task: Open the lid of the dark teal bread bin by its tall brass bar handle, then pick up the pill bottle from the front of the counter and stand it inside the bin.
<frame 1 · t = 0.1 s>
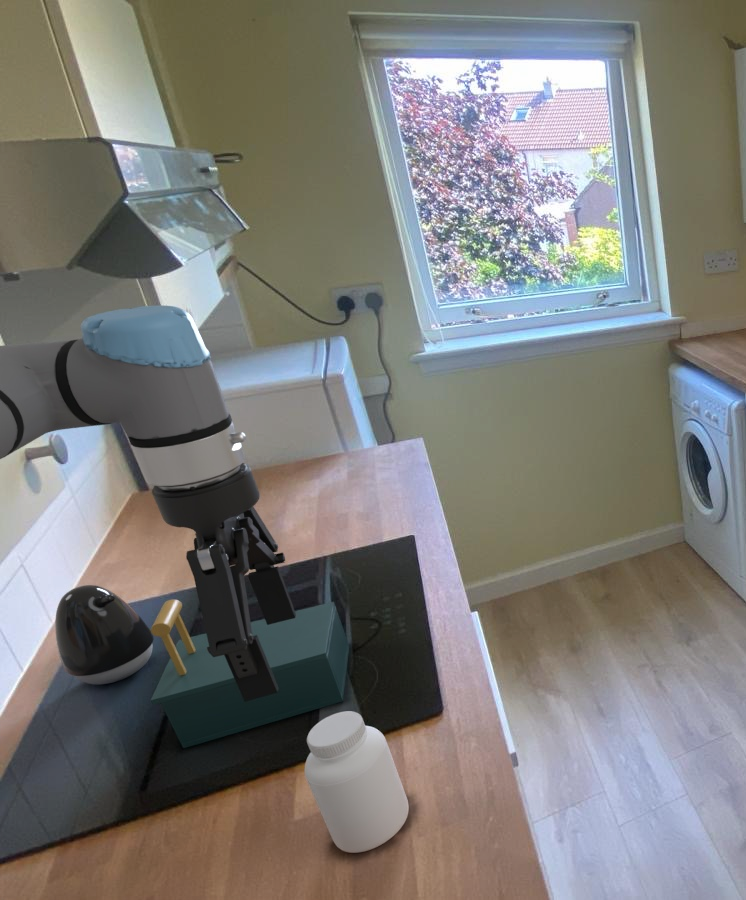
hand: (272, 655, 77), 24 cm above the worktop, tool pointing down, fingers open, 13 cm apart
pill bottle: (373, 826, 86), on the worktop
bread bin: (273, 693, 106), on the worktop
black rounded egg shape: (121, 672, 112), on the worktop
bin lid: (241, 624, 101), point 12 cm above the worktop, hinge at 0.0°
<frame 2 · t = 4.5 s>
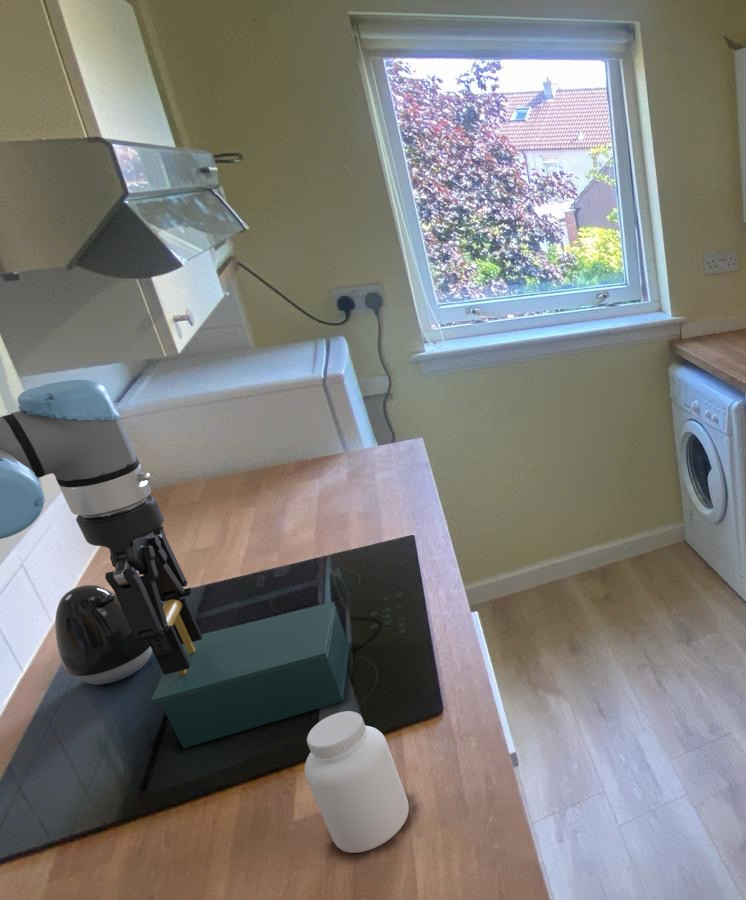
hand: (184, 654, 99), 10 cm above the worktop, tool pointing down, fingers closed on bin lid, 6 cm apart
bin lid: (241, 624, 101), point 13 cm above the worktop, hinge at 0.0°, touching gripper
everything else where it was.
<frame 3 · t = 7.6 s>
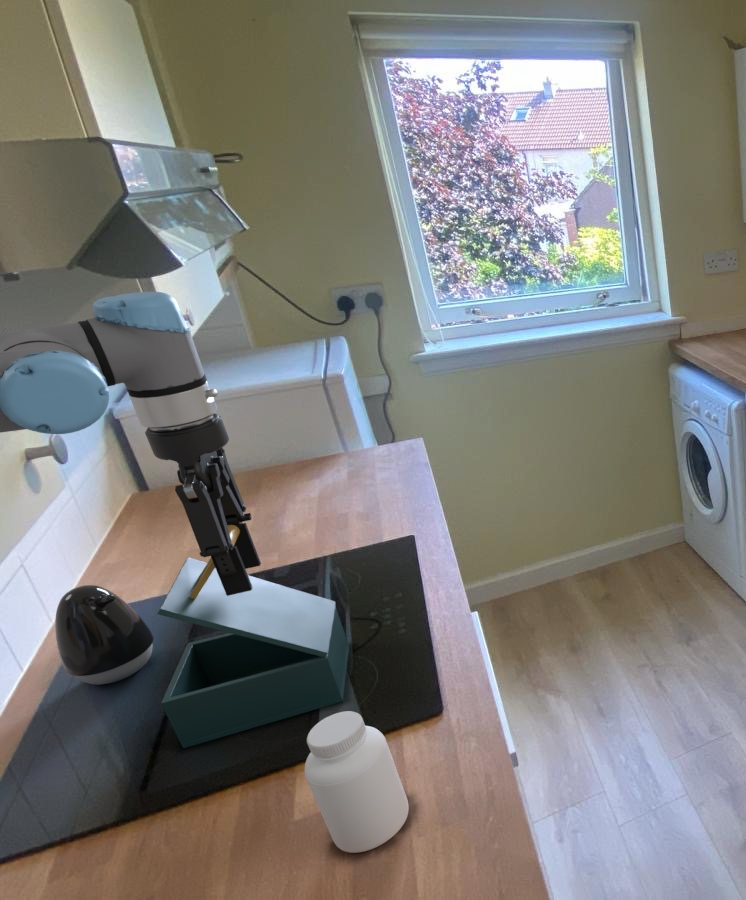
hand: (244, 578, 99), 19 cm above the worktop, tool pointing down, fingers closed on bin lid, 6 cm apart
bin lid: (272, 582, 101), point 18 cm above the worktop, hinge at 40.3°, touching gripper
everything else where it was.
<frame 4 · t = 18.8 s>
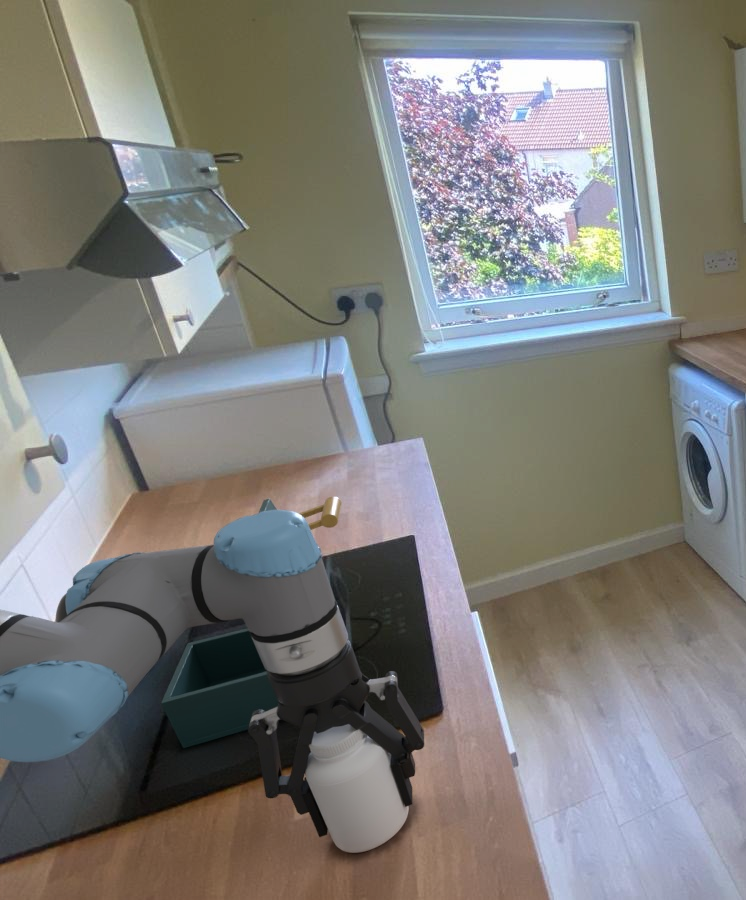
hand: (367, 811, 85), 2 cm above the worktop, tool pointing down, fingers closed on pill bottle, 8 cm apart
pill bottle: (373, 826, 86), on the worktop, touching gripper
bin lid: (328, 563, 103), point 19 cm above the worktop, hinge at 79.2°
everything else where it was.
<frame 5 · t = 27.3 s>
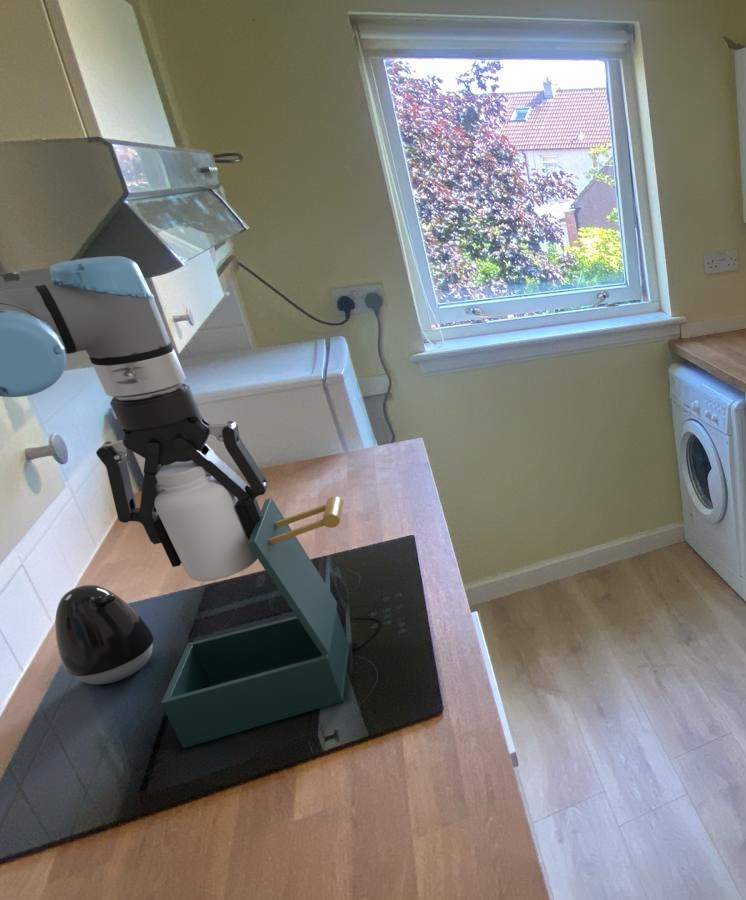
hand: (218, 552, 97), 24 cm above the worktop, tool pointing down, fingers closed on pill bottle, 8 cm apart
pill bottle: (225, 567, 98), point 21 cm above the worktop, touching gripper
bin lid: (329, 563, 103), point 19 cm above the worktop, hinge at 79.9°, touching gripper
everything else where it was.
when the fingers open (24 cm above the worktop, at t = 27.5 s): pill bottle drops 21 cm, resting on bread bin.
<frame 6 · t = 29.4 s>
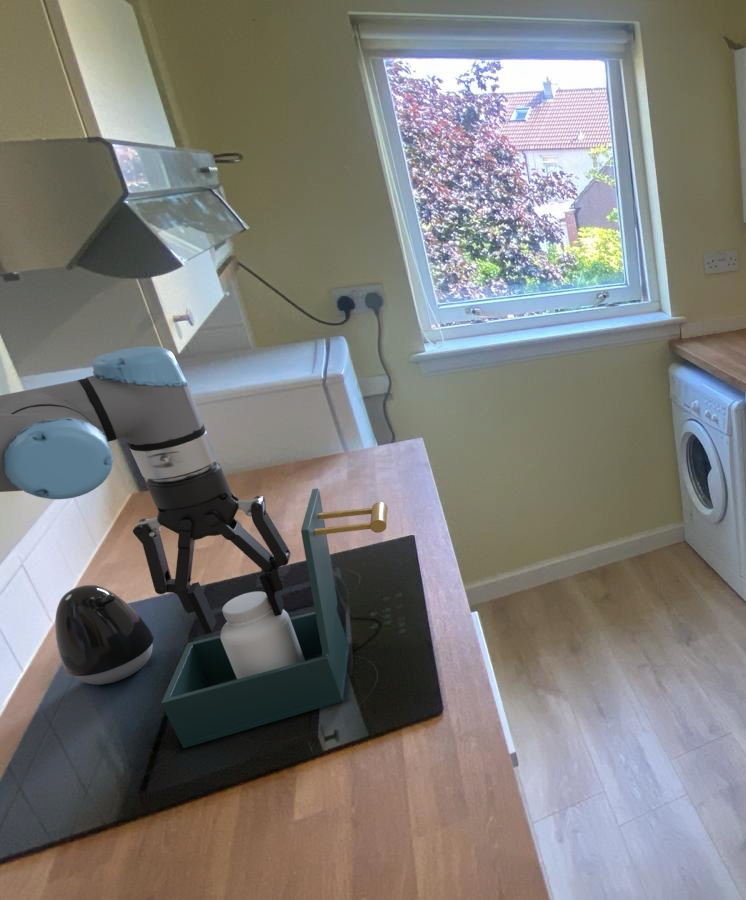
hand: (245, 618, 101), 13 cm above the worktop, tool pointing down, fingers open, 7 cm apart
pill bottle: (278, 688, 106), point 1 cm above the worktop, touching bread bin, gripper
bin lid: (355, 565, 105), point 17 cm above the worktop, hinge at 97.2°
everything else where it was.
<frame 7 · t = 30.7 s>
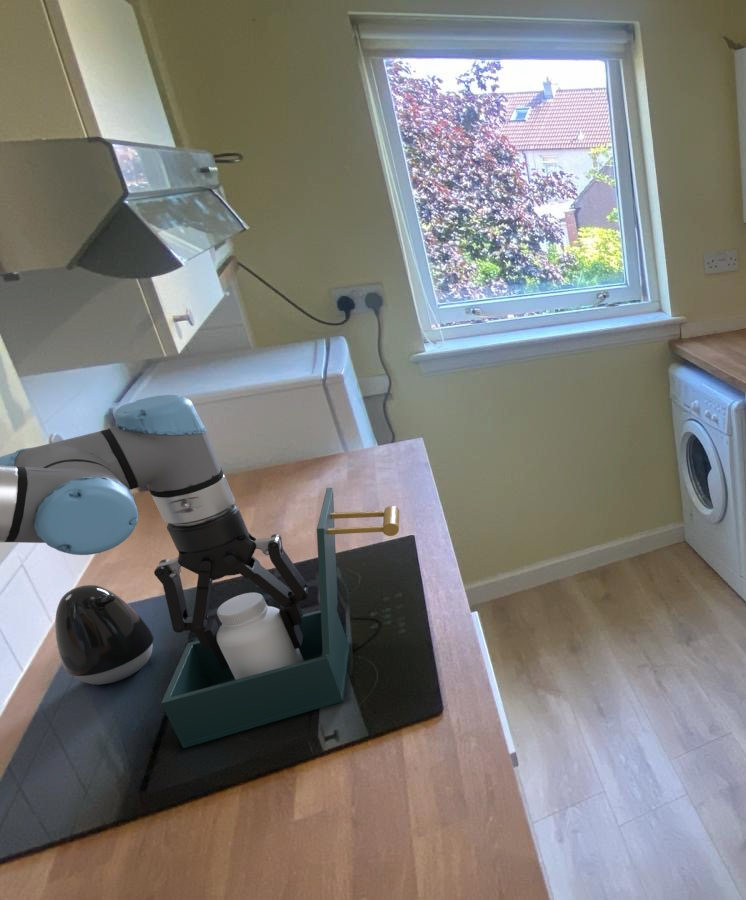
hand: (263, 652, 104), 7 cm above the worktop, tool pointing down, fingers closed on pill bottle, 8 cm apart
pill bottle: (278, 688, 106), point 1 cm above the worktop, touching bread bin, gripper
bin lid: (362, 567, 106), point 17 cm above the worktop, hinge at 102.3°
everything else where it was.
when the fingers open (6 cm above the worktop, at t = 31.4 s): pill bottle stays where it is, resting on bread bin.
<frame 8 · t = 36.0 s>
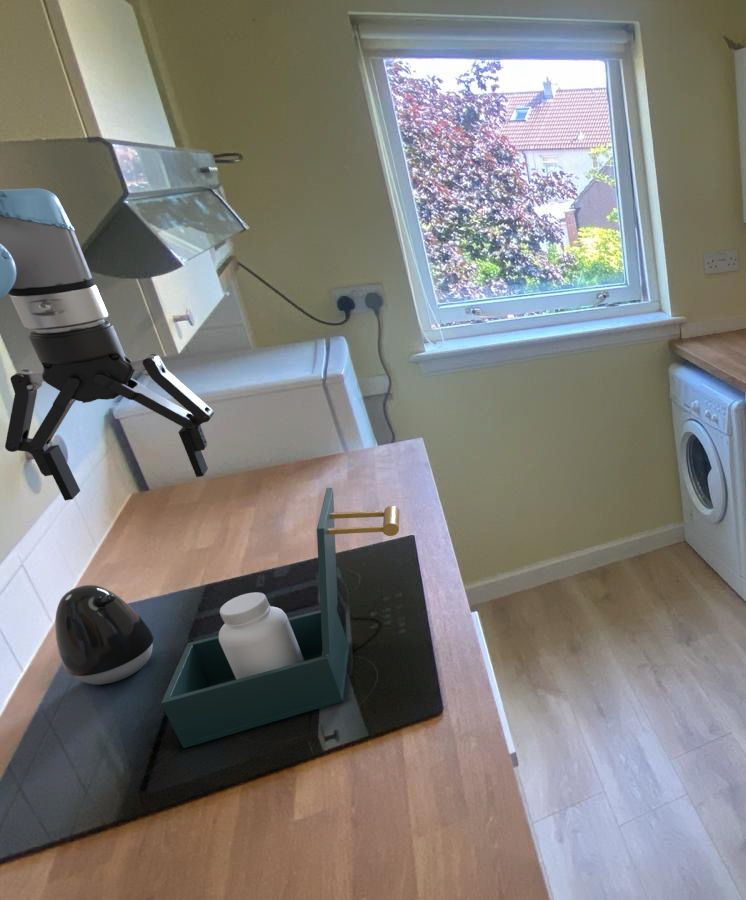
hand: (139, 484, 96), 33 cm above the worktop, tool pointing down, fingers open, 13 cm apart
pill bottle: (279, 689, 106), point 1 cm above the worktop, touching bread bin
everything else where it was.
at the end: bin lid at +102° (first picture: +0°); pill bottle inside the target area in the bread bin (0.9 cm from its centre), point 0.6 cm above the bread bin's base; pill bottle tilted 0° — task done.
